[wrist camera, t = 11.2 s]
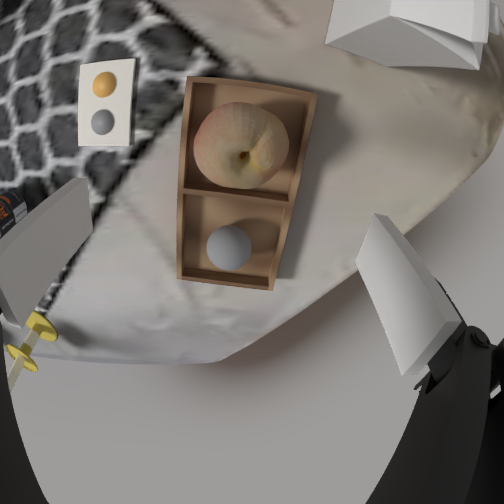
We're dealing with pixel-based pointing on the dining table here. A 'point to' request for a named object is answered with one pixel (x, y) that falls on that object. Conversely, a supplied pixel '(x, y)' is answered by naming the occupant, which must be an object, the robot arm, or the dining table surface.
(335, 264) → the dining table surface
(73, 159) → the dining table surface
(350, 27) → the milk carton
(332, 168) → the dining table surface
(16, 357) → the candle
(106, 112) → the tile
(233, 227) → the grey ball
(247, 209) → the divided wooden tray
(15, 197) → the pill bottle
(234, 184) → the fruit
